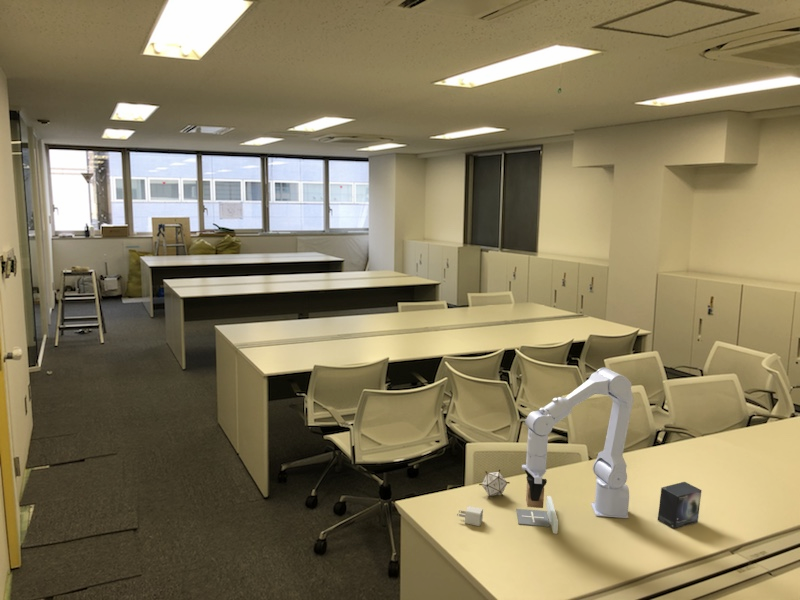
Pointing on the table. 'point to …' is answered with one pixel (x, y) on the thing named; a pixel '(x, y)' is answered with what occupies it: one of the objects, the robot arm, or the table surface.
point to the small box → (679, 505)
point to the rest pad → (532, 517)
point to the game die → (494, 483)
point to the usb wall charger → (472, 515)
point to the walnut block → (534, 503)
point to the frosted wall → (552, 515)
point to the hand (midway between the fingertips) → (534, 496)
